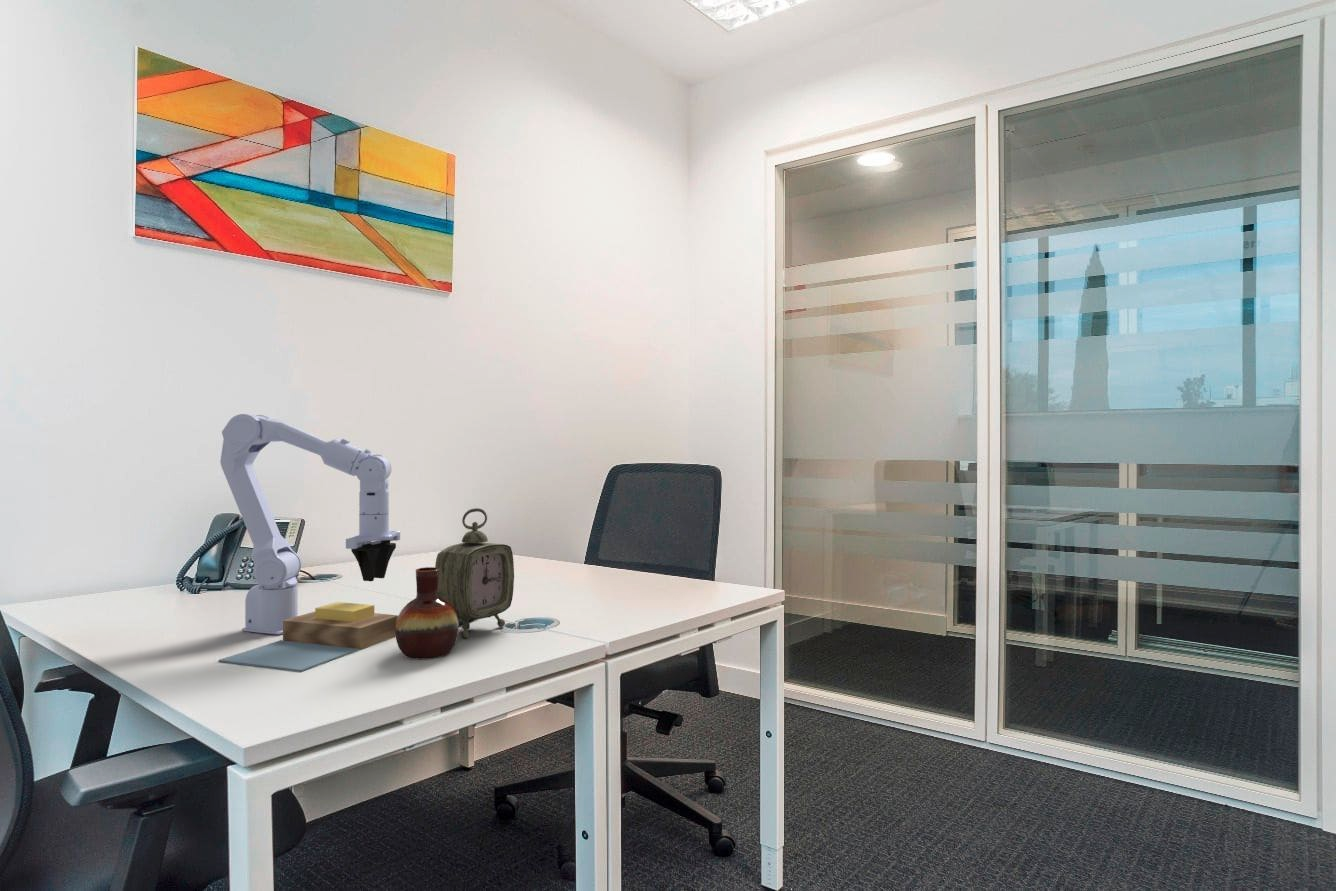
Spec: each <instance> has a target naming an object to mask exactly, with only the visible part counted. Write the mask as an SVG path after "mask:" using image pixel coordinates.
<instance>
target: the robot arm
mask: <svg viewBox="0 0 1336 891" xmlns="http://www.w3.org/2000/svg"><path fill="white" fill-rule="evenodd" d="M221 435H222V438H223V440H222V441H223V442H222V447H221V455H220V462H219V463H220V466H221V470H222V471H223V474H224V476H225V480H226V481H227V484H228V486H229V489H230V491H231V494H232V495H233V498H234V501H235V503H236V506H237V508H238V510H239V513H240V516H241V518H242V520H243V523H244V525H245V527H246V530H247V533H248V536H249V537H250V540H251V542H252V545H253V548H252V551H251V559H252V560H253V561H252V562H253V577H254V579H255V581H256V582H257V583H258V584H256V585H253V586H252V587H250V589H249V590H248V591H247V594H246V596H245V601H244V602H245V603H244V605H245V607H244V609H245V613H244V614H245V616H244V618H245V620H244V621H245V622H244V624H245V626H244V627H243V628H241V631H242V632H250V633H251V632H252V633H259V634H268V635H283V620H286V619H290V618H293V617H297V616H299V615H298V612H299V611H298V607H299V606H298V604H299V603H298V601H299V600H298V599H299V598H298V597H299V595H298V594H299V593H298V588H299V587H298V586H299V584H298V583H299V582H298V580H297V576H298V574H299V573H300V572H301V570H302V560H301V558H300V556H299V555H298V553H296V552H295V551H294V550H293V549H292V548H291V544H290V543H289V541H288V540H287V539H285V537H283V536H282V535H281V533H280V530H279V528H278V525H277V522H276V520H275V517H274V515H273V513H272V511H271V510H272V509H271V508H270V505H269V503H268V500H267V498H266V495H265V492H264V490H263V488H262V485H261V483H260V481H259V479H258V475H257V474H256V471H255V468H254V466H253V463H254V461H255V460H256V458H257V457H258V455H259V453H260V452H261V451H262V450H263V449H264V448H265V447H266V446H268V445H269V444H270V443H271V442H273V443H275V442H283V443H285V444H286V443H287V444H288V445H292V446H294V447H297V448H299V449H303V450H305V451H307V452H309V453H313V454H316V455H318V456H320V458H321V460H322V462H323V464H324V465H325V466H328V467H330V468H333V469H335V470H337V471H340V472H343V473H345V474H348V475H350V476H352V477H355V476H356V477H357V478H356V479H358V480H359V491H358V492H359V493H358V494H359V497H358V498H359V500H358V502H359V504H358V506H359V507H358V508H359V511H358V512H359V513H358V514H359V519H358V521H359V522H358V523H359V525H358V527H359V530H358V535H355V536H352V537H349V538H345V549H347V550H348V549H349V550H350V549H351V550H350V551H351V553H352V554H353V555H354V558H355V559H356V561H357V563H358V567H359V569H360V573H361V577H362V581H364V582H374V580H375V579H385V576H386V573H387V570H388V569H387V568H388V565H389V562H390V560H391V557H392V555H393V553H394V551H395V550H396V548H397V543H395V542H394V541H396V542H397V541H400V540H401V531H400V530H389V528H390V508H389V507H390V502H389V501H390V498H389V496H390V491H389V477H390V475H391V473H392V465H391V462H390V461H389V460H388V458H386V457H384V456H383V455H382V454H372V450H371V449H367V448H366V449H362V448H359V447H357V446H355V445H353V444H350V442H351V441H350V440H348V439H347V438H341V439H339V438H336V439H332V440H329V441H327V440H325V439H323V438H320V437H319V436H316V435H315V434H312V433H309V432H308V431H305V430H303V429H301V428H299V427H296V426H295V425H294V424H293V425H292V424H290V423H288V422H286V421H284V420H283V421H282V420H279V419H276V418H270V417H268V416H266V415H262V414H257V415H253V414H252V415H251V414H246V413H239V414H236V415H234V416H233V417H231V418H230V419H229V421H228V422H227V423H226V425H225V427H224V428H223V430H221Z"/></svg>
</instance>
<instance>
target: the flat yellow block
mask: <svg viewBox="0 0 1336 891" xmlns="http://www.w3.org/2000/svg"><path fill="white" fill-rule="evenodd" d="M314 611H315V618H317V619H328V620H338V621H349V622H355V621H358V620H361V619H364V618H367V617H371V616H374V613H375V605H374V604H367V603H366V604H365V603H353V602H343V601H336V602H333V603H332V602H331V603H329V604H326V605H322V606H317V607H315V608H314Z"/></svg>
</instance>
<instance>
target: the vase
mask: <svg viewBox="0 0 1336 891" xmlns="http://www.w3.org/2000/svg"><path fill="white" fill-rule="evenodd" d="M415 580H416V581H415V582H416V596H415V598H413V599H412V600H410V601H409V602H408V603H407V604H406V605H405V606H403V608H401V610H400V612H399V614H398V618H397V621H396V625H395V636H396V637H395V640H396V644H397V647H398V648H399V651H400V652H401V653H402V655H404V657H406V658H409V659H414V660H429V659H437V658H442V657H444V656H446V655H449V653H451V651H452V650H453V648H454V646H455V645H456V642H457V639H458V636H459V630H460V629H459V627H460V626H459V623H458V617H457V614H456V612H455V610H454V609H453V607H452V606H451V605H450V604H449V603H448V602H447V601H445V600H444V599H442V598H440V597H439V596H438V580H439V568H435V566H434V567H433V566H431V567H430V566H425V567H418V568H415Z"/></svg>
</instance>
